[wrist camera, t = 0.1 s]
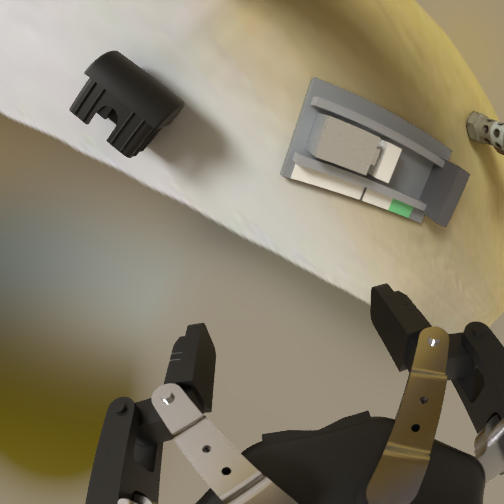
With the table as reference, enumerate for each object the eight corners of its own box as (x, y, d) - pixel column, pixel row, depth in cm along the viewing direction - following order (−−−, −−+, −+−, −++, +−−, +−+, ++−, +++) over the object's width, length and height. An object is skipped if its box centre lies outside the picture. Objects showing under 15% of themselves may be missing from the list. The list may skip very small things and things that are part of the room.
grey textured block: (317, 112, 26) (329, 115, 23) (374, 136, 28) (391, 143, 24) (305, 149, 28) (315, 157, 25) (361, 169, 30) (377, 179, 26)
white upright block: (377, 137, 28) (388, 142, 25) (390, 144, 28) (401, 149, 26) (364, 170, 30) (375, 177, 28) (377, 175, 30) (388, 183, 28)
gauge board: (311, 77, 25) (330, 74, 20) (447, 148, 29) (475, 161, 24) (280, 173, 31) (290, 191, 26) (416, 219, 35) (439, 240, 30)
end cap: (190, 102, 26) (178, 104, 20) (149, 149, 28) (130, 163, 23) (128, 53, 22) (102, 46, 16) (91, 102, 24) (61, 107, 19)
